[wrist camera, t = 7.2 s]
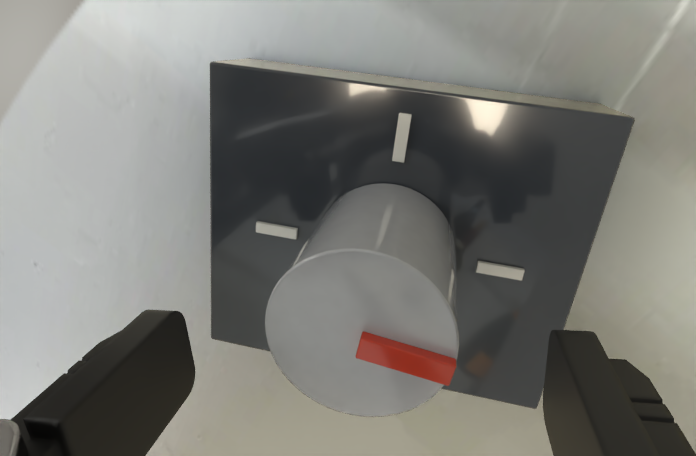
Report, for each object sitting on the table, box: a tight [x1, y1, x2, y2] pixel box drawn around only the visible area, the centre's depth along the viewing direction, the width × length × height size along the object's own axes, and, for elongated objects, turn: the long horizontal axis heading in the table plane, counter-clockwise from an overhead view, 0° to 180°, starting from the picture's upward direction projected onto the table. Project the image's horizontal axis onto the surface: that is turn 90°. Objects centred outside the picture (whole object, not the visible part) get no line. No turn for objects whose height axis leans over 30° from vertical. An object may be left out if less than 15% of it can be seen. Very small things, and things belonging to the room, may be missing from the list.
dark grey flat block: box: [210, 58, 634, 409], centre depth 16 cm, size 12×10×3 cm
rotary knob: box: [265, 183, 459, 417], centre depth 13 cm, size 4×4×5 cm
